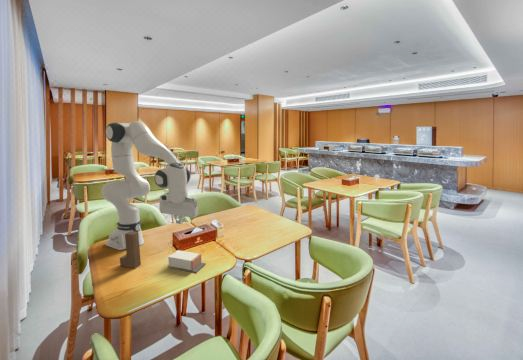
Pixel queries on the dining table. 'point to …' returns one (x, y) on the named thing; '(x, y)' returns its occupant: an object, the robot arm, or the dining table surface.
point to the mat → (191, 270)
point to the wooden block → (131, 251)
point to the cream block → (185, 260)
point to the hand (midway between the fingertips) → (179, 223)
